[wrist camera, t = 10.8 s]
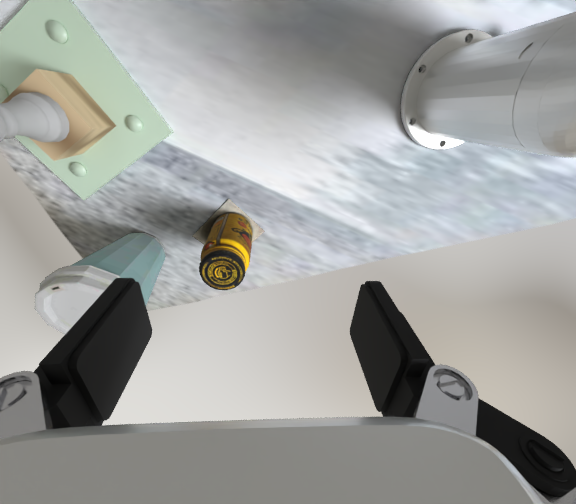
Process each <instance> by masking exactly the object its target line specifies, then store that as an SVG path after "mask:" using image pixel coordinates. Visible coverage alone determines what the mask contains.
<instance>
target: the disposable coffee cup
mask: <svg viewBox="0 0 576 504" xmlns="http://www.w3.org/2000/svg"><path fill="white" fill-rule="evenodd" d="M165 257H166V256H165V251H164V247H163V245H162V244H161V243H160V242H159V241H158V240H157V238H156V237H154V236H151V235H149V234H146V233H130V234H128V235H126V236H124V237H122V238H121V239H119V240H117V241H115V242H113V243H111V244H109V245H108V246H106V247H104V248H102V249H100V250H98V251H97V252H95V253H93V254H91V255H89V256H87V257H86V258H84V259H82V260H80V261H78V262H76V263H75V264H73V265H71V266H66V267H62V268H59V269H58V270H56V271H55V272H53V273H51V274H50V275H49V276H47V277H46V278H45V280H43V281H42V282H41V283H40V290H39V291H38V292H37V293H36V294H35V310H36V311H37V312H38V314H39V315H40V316H41V317H42V319H43V320H44V321H45V322H46V323H47V325H49V326H51V327H53V328H55V329H56V330H58V331H60V332H61V333H63V334H66V333H67V332H68V331H69V330H70V329H71V328H72V327H73V325H74V324H75V323H76V322H77V321H78V320H79V319H80V318H81V316H82V315H83V314H84V313H85V312H86V311H87V310H88V309H89V308H90V306H91V305H92V304H93V303H94V302H95V301H96V300H97V299H98V297H99V296H100V295H101V294H102V293H103V292H104V291H105V290H106V289H107V287H108V286H109V285H110V284H111V283H112V282H113V281H114V280H115V279H116V278H134V280H135V282H139V284H140V287H141V291H142V294H143V298H144V302H145V305H146V304H147V302H148V299H149V297H150V294H151V292H152V290H153V287H154V285H155V282H156V280H157V277H158V275H159V272H160V270H161V267H162V265H163V262H164V260H165Z"/></svg>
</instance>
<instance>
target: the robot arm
mask: <svg viewBox="0 0 576 504" xmlns="http://www.w3.org/2000/svg"><path fill="white" fill-rule="evenodd" d="M419 68H420V72H419ZM401 117H402V121H403V125H404V128H405V130H406V132H407V134H408V135H409V136H410V137H411V139H412V140H413V141H415V142H416V143H417V144H419V145H421V146H423V147H426V148H430V149H437V150H443V149H448V148H452V147H455V146H458V145H460V144H462V143H464V142H471V143H476V144H482V145H488V146H494V147H499V148H505V149H511V150H517V151H523V152H528V153H534V154H540V155H547V156H553V157H565V158H566V157H576V12H573V13H570V14H567V15H564V16H560V17H557V18H554V19H551V20H548V21H544V22H541V23H538V24H535V25H531V26H528V27H525V28H522V29H519V30H515V31H512V32H509V33H506V34H502V35H499V36H496V37H492V36H491V35H489V34H487V33H485V32H483V31H479V30H474V29H472V30H462V31H459V32H456V33H453V34H450V35H448V36H446V37H444V38H442V39H440V40H439V41H437V42H436V43H434V44H433V45H432V46H431V47H429V48H428V49H427V50H426V51H425V52H424V53H423V54H422V56H421V57H420V58H419V59H418V61H417V62H416V63H415V65H414V67H413V68H412V70H411V72H410V73H409V76H408V78H407V81H406V83H405V85H404V89H403V93H402V98H401ZM410 120H411V122H410V123H409V121H410ZM439 143H440V144H439ZM151 335H152V327H151V324H150V320H149V316H148V313H147V309H146V305H145V302H144V298H143V294H142V291H141V287H140V284H139V282H135V280H134V278H116V279H115V280H114V281H113V282H112V283H111V284H110V285H109V286H108V287H107V289H106V290H105V291H104V292H103V293H102V294H101V295H100V296H99V297H98V299H97V300H96V301H95V302H94V303H93V304H92V305H91V306H90V308H89V309H88V310H87V311H86V312H85V313H84V314H83V315H82V316H81V318H80V319H79V320H78V321H77V322H76V323H75V324H74V325H73V327H72V328H71V329H70V330H69V331H68V332H67V333H66V334H65V336H64V337H63V338H62V339H61V340H60V341H59V342H58V344H57V345H56V346H55V347H54V348H53V349H52V350H51V351H50V352H49V353H48V355H47V356H46V357H45V358H44V359H43V360H42V361H41V362H40V363H39V365H40V366H39V367H38V368H37V369H36V370H35V371H34V372H30V371H21V372H16V373H12V374H9V375H7V376H4V377H2V378H0V504H576V469H575V468H574V466H573V464H572V463H571V461H570V460H569V459H568V457H567V456H566V455H565V454H564V453H563V452H562V451H561V450H560V449H559V448H558V447H557V446H556V445H555V444H554V443H552V442H551V441H549V440H548V439H546V438H545V437H544V436H542V435H540V434H539V433H537V432H535V431H533V430H532V429H530V428H528V427H527V426H525V425H523V424H521V423H520V422H518V421H516V420H515V419H512V418H511V417H510V416H508V415H506V414H504V413H503V412H501V411H499V410H498V409H496V408H494V407H493V406H491V405H489V404H487V403H486V402H484V401H482V400H480V399H479V398H478V392H477V389H476V387H475V386H474V384H473V383H472V382H471V381H470V379H469V378H468V377H467V376H465V375H464V374H463V373H462V372H460V371H458V370H457V369H455V368H452V367H450V366H447V365H435V364H434V362H433V360H432V359H431V357H430V356H429V354H428V353H427V351H426V350H425V348H424V346H423V345H422V343H421V342H420V341H419V339H418V337H417V336H416V334H415V333H414V331H413V330H412V328H411V326H410V325H409V323H408V322H407V320H406V318H405V317H404V315H403V314H402V313H401V312H399V310H398V309H397V307H396V306H395V304H394V302H393V301H392V299H391V298H390V296H389V295H388V293H387V291H386V290H385V288H384V287H383V285H382V284H381V282H379V281H366V282H365V284H362V285H361V287H360V291H359V295H358V299H357V303H356V307H355V311H354V316H353V319H352V323H351V327H350V335H351V339H352V342H353V344H354V347H355V350H356V353H357V356H358V358H359V361H360V364H361V367H362V370H363V373H364V376H365V378H366V381H367V384H368V387H369V390H370V392H371V395H372V398H373V401H374V404H375V407H376V409H377V410H378V411H379V412H382V414H383V417H336V418H335V417H334V418H299V419H298V418H297V419H263V420H234V421H205V422H204V421H203V422H178V423H177V422H176V423H153V424H152V423H150V424H125V425H106V426H101V425H102V423H103V421H104V420H107V419H109V417H110V416H111V414H112V412H113V410H114V408H115V406H116V404H117V402H118V400H119V398H120V396H121V394H122V392H123V391H124V389H125V387H126V385H127V383H128V381H129V379H130V377H131V375H132V373H133V371H134V369H135V367H136V365H137V363H138V361H139V359H140V357H141V356H142V353H143V352H144V350H145V348H146V346H147V344H148V342H149V340H150V338H151Z"/></svg>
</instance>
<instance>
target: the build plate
mask: <svg viewBox="0 0 576 504" xmlns="http://www.w3.org/2000/svg"><path fill="white" fill-rule="evenodd" d="M36 69H41V70H47V71H53V72H59V73H65V74H71V75H73V77H74V78H75V79H76V80H77V81H78V82H79V83H80V85H81V86H82V87H83V88H84V89H85V90H86V92H87V93H88V94H89V95H90V96H91V97H92V98H93V100H94V101H95V102H96V103H97V104H98V105H99V106H100V108H101V109H102V110H103V111H104V112H105V113H106V114H107V116H108V117H109V118H110V119H111V120H112V121H113V122H114V124H115V125H116V127H114V128H113V129H112V130H111V131H110V132H108V133H107V134H106V135H105V136H104V137H102V138H101V139H100V140H99V141H98V142H96V143H95V144H94V145H93V146H91V147H90V148H89V149H88V150H87V151H85V152H84V153H83V154H80V155H76V156H72V157H68V158H64V159H60V160H56V161H53V160H52V159H51V158H50V157H49V156H48V155H47V154H46V153H45V152H44V151H43V150H42V149H41V148H40V147H39V146H38V145H36V144H35V143H34V142H33V141H32V140H31V139H30V138H29V137H26V136H21V135H16V136H15V138H16V139H17V140H18V141H20V142H21V143H22V144H23V145H24V146H25V147H26V148H27V149H28V150H29V151H30V152H31V153H33V154H34V155H35V156H36V157H37V158H38V159H39V160H40V161H41V162H42V163H43V164H44V165H46V166H47V167H48V168H49V169H50V170H51V171H52V172H53V173H54V174H55V175H56V176H58V177H59V178H60V179H61V180H62V181H63V182H64V183H65V184H66V185H67V186H68V187H69V188H71V189H72V190H73V191H74V192H75V193H76V194H77V195H78V196H79V197H80V198H81V199H82V200H86V199H87V198H89V197H90V196H91V195H93V194H94V193H95V192H96V191H98V190H99V189H100V188H102V187H103V186H104V185H106V184H107V183H108V182H109V181H111V180H112V179H113V178H115V177H116V176H117V175H119V174H120V173H121V172H122V171H124V170H125V169H126V168H128V167H129V166H130V165H132V164H133V163H134V162H135V161H137V160H138V159H139V158H141V157H142V156H143V155H145V154H146V153H147V152H148V151H150V150H151V149H152V148H154V147H155V146H156V145H158V144H159V143H160V142H161V141H163V140H164V139H165V138H167V137H168V136H169V135H171V134H172V133H173V130H172V129H171V128H170V127H169V125H168V124H167V123H166V121H165V120H164V119H163V118H162V116H161V115H160V114H159V112H158V111H157V110H156V109H155V107H154V106H153V105H152V103H151V102H150V101H149V100H148V98H147V97H146V96H145V94H144V93H143V92H142V91H141V89H140V88H139V87H138V85H137V84H136V83H135V81H134V80H133V79H132V78H131V76H130V75H129V74H128V72H127V71H126V70H125V69H124V67H123V66H122V65H121V63H120V62H119V61H118V60H117V58H116V57H115V56H114V54H113V53H112V52H111V51H110V49H109V48H108V47H107V45H106V44H105V43H104V42H103V40H102V39H101V38H100V36H99V35H98V34H97V32H96V31H95V30H94V29H93V27H92V26H91V25H90V23H89V22H88V21H87V20H86V18H85V17H84V16H83V14H82V13H81V12H80V11H79V9H78V8H77V7H76V5H75V4H74V3H73V2H72V0H29V1H28V2H27V3H26V4H25V5H24V6H23V7H22V8H21V9H20V11H19V12H18V13H17V14H16V15H15V16H14V17H13V18H12V19H11V20H10V21H9V22H8V23H7V25H6V26H5V27H4V28H3V29H2V30H1V31H0V104H1V103H2V102H3V101H4V100H5V99H6V98H7V97H8V96H9V95H10V94H11V93H12V92H13V91H14V90H15V89H16V88H17V87H18V86H19V85H20V84H21V83H22V82H23V81H24V80H25V79H26V78H27V77H28V76H29V75H30V74H31V73H32V72H34V71H35V70H36Z"/></svg>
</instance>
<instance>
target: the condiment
mask: <svg viewBox="0 0 576 504" xmlns="http://www.w3.org/2000/svg"><path fill="white" fill-rule="evenodd" d="M263 232H265V231H264V230H263V229H261V228H260V227H259V226H258V225H257V224H256V223H255V222H254V221H253V220H252V219H251V218H250V217H249V216H248V215H246V214H245V213H244V212H243V211H242V210H241V209H240V208H239V207H237V206H236V205H235V204H234V203H233V202H232V201H231V200H230V199H228V200H227V201H226V202H225V203H224V204H223V205H222V206H221V207H220V208H219V209H218V210H217V211H216V212H215V213H214V214H213V215H212V216H211V217H210V218H209V219H208V221H207V222H206V223H205V224H204V225H202V226H201V227H200V229H199V230H198V231H197V232H196V233H195V234H194V235H193V237H194V238H196V239H197V240H199V241H200V242H201V243H203V244H204V247H203V249H202V252H201V263H200V266H199V272H200V275H201V277H202V280H203V281H204V282H205V283H206V284H207V285H209V286H210V287H212V288H214V289H218V290H228V289H232V288H235V287H236V286H238V285H239V284H240V283H241V282H242V280H243V278H244V277H245V271H246V270H247V268H248V266H249V262H250V253H251V245H252V242H253V241H254V240H255V239H257V238H258V237H259V236H260V235H261V234H262V233H263Z"/></svg>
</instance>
